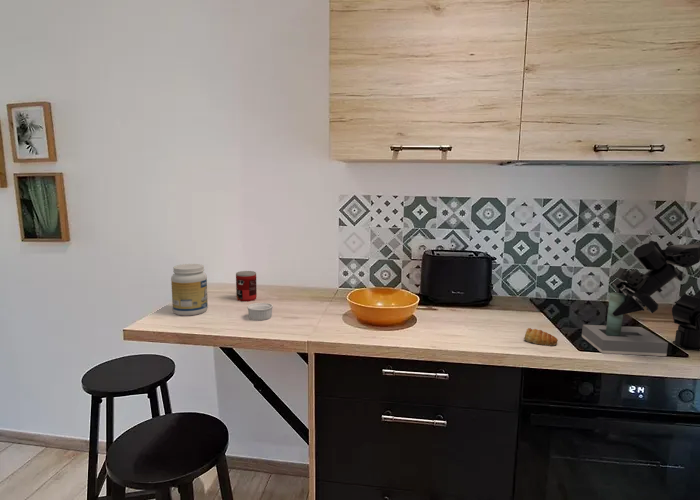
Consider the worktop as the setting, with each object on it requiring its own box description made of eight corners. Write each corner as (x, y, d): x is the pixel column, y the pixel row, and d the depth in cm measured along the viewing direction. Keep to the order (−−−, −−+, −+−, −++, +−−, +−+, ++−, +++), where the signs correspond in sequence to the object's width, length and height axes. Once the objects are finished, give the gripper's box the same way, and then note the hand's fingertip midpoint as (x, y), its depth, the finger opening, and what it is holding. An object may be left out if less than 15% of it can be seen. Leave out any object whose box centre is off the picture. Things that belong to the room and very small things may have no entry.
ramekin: (249, 322, 154) (249, 310, 153) (245, 315, 162) (245, 303, 161) (275, 320, 157) (275, 308, 156) (270, 312, 165) (270, 301, 164)
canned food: (235, 297, 184) (235, 271, 182) (255, 296, 187) (255, 270, 185) (237, 302, 177) (236, 275, 175) (257, 301, 179) (257, 274, 178)
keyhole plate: (639, 339, 144) (641, 327, 144) (666, 356, 130) (668, 343, 130) (581, 336, 146) (582, 324, 145) (601, 353, 132) (603, 340, 131)
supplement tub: (210, 314, 162) (208, 268, 159) (174, 318, 156) (171, 270, 154) (205, 305, 172) (203, 262, 170) (171, 308, 167) (169, 264, 164)
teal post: (613, 332, 140) (618, 292, 138) (623, 337, 136) (628, 295, 134) (602, 333, 139) (606, 292, 137) (612, 337, 135) (616, 296, 133)
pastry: (558, 342, 141) (559, 330, 140) (555, 349, 135) (556, 337, 134) (527, 336, 146) (528, 325, 145) (522, 342, 140) (523, 331, 139)
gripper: (622, 254, 142) (582, 286, 146) (651, 265, 124) (604, 302, 128) (647, 279, 142) (605, 311, 146) (678, 294, 124) (631, 330, 128)
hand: (610, 312), depth 137 cm, fingers closed on teal post, 4 cm apart
